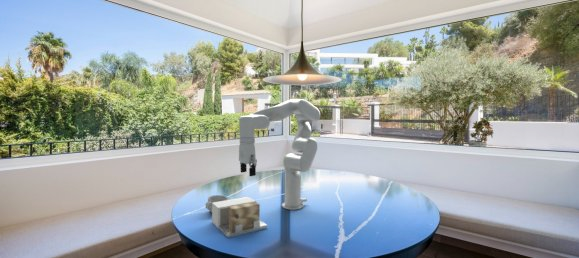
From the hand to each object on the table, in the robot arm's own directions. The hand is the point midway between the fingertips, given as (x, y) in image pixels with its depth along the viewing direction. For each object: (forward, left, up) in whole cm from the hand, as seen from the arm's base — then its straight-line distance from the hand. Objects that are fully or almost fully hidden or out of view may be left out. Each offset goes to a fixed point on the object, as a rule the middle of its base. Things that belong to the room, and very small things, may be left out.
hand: (247, 173), depth 144 cm
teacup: (+10, -20, -25) cm, 33 cm away
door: (+6, +9, -23) cm, 25 cm away
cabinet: (+6, -3, -24) cm, 25 cm away
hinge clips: (+6, +7, -24) cm, 26 cm away
